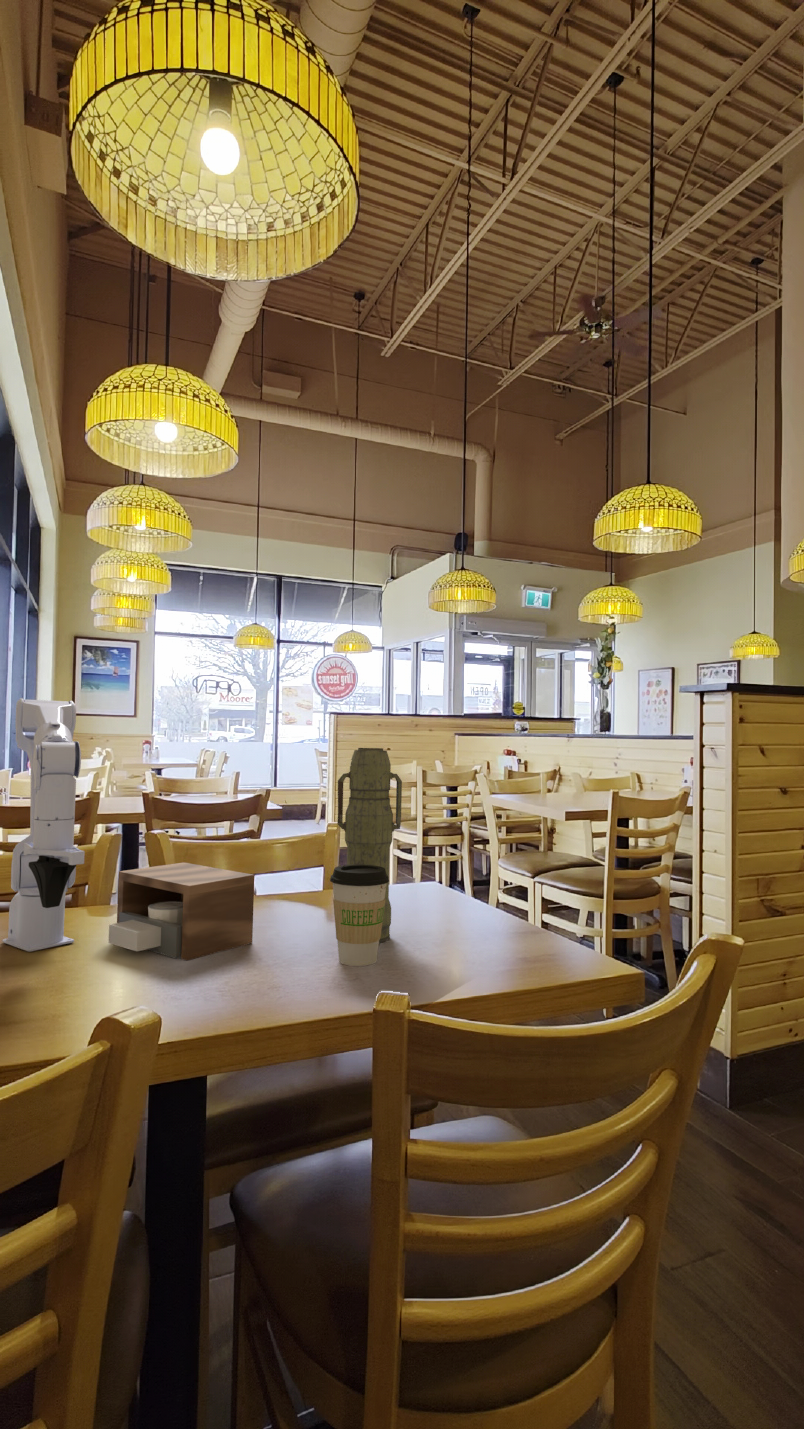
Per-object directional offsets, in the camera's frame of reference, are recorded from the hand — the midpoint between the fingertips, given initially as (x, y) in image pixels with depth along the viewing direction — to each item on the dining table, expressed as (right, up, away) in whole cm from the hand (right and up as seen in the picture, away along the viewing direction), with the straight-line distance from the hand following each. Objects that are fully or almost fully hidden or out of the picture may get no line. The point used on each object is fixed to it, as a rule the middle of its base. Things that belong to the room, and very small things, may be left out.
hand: (50, 906), depth 113 cm
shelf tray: (+14, -10, +14) cm, 22 cm away
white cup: (+14, -11, +13) cm, 22 cm away
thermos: (+48, -12, +21) cm, 54 cm away
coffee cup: (+47, -11, +7) cm, 49 cm away
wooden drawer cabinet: (+16, -11, +16) cm, 25 cm away
